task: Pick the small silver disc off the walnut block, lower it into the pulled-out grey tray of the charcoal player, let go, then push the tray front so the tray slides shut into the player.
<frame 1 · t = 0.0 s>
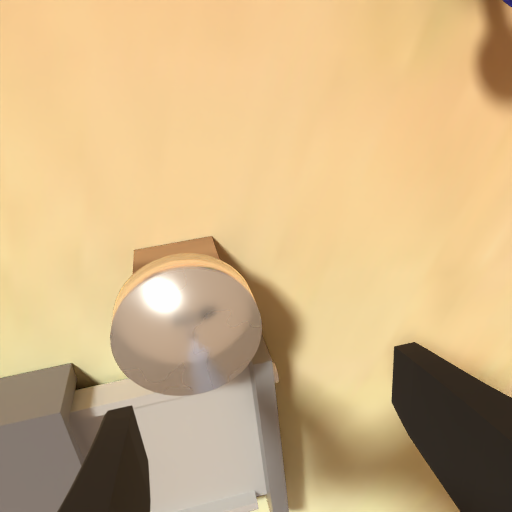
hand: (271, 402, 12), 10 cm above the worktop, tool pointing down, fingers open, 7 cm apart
disc: (185, 316, 18), point 3 cm above the worktop, touching walnut block
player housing: (6, 480, 24), on the worktop
tray: (181, 461, 24), point 2 cm above the worktop, slide at 8.0 cm
walnut block: (180, 276, 21), on the worktop
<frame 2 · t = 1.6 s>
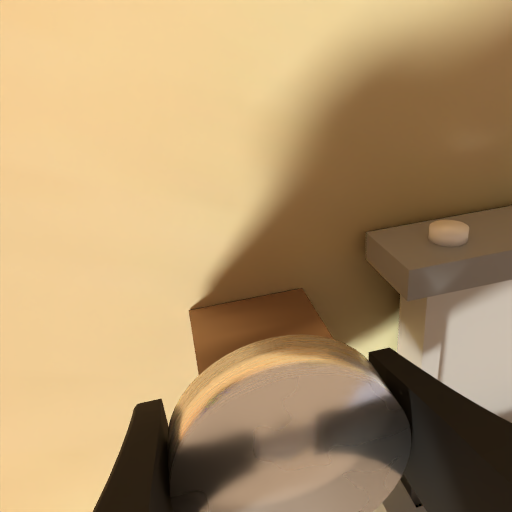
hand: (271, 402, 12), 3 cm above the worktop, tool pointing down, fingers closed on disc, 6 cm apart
disc: (280, 427, 12), point 3 cm above the worktop, touching gripper, walnut block
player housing: (488, 493, 21), on the worktop
walnut block: (252, 345, 15), on the worktop
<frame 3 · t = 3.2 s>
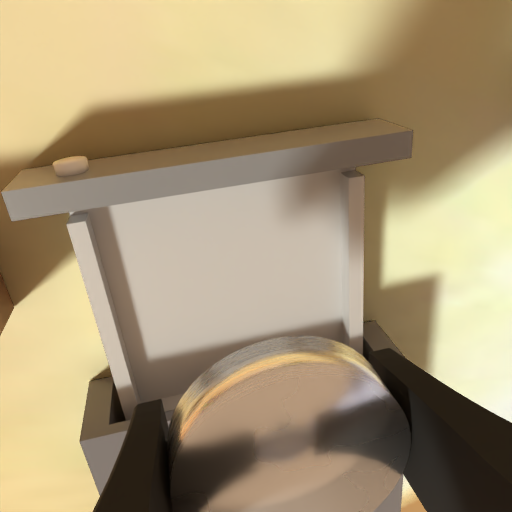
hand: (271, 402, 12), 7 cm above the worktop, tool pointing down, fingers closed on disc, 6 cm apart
disc: (280, 428, 12), point 8 cm above the worktop, touching gripper
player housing: (250, 431, 23), on the worktop
tray: (234, 287, 17), point 2 cm above the worktop, slide at 8.0 cm
when the fingers open (1 cm above the worktop, at t = 4.8 s): disc drops 1 cm, resting on tray.
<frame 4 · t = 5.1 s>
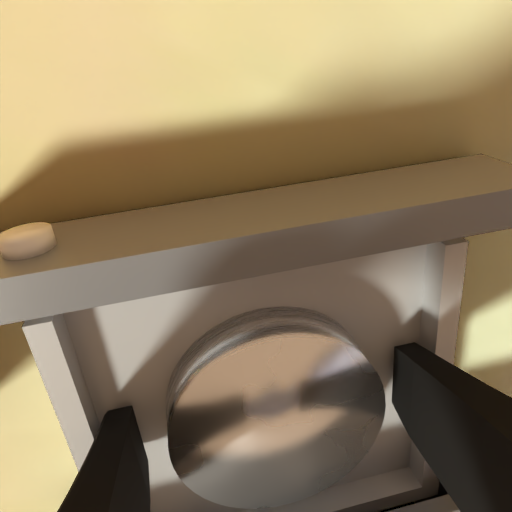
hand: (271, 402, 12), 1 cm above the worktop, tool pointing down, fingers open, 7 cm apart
disc: (268, 393, 13), point 1 cm above the worktop, touching tray
tray: (271, 396, 12), point 2 cm above the worktop, slide at 8.0 cm, touching disc
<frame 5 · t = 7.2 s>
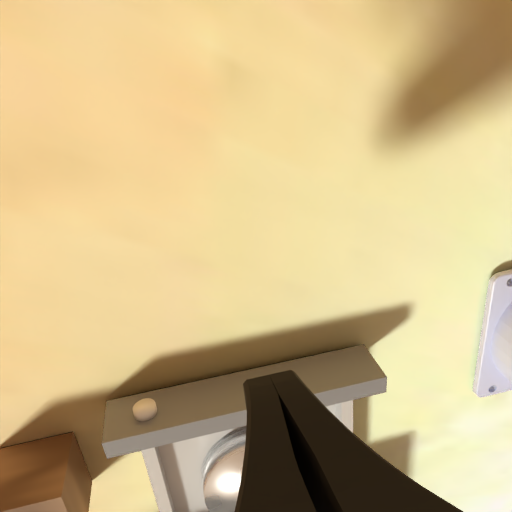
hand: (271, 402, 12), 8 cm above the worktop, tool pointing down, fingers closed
disc: (254, 463, 24), point 1 cm above the worktop, touching tray
tray: (256, 467, 23), point 2 cm above the worktop, slide at 8.0 cm, touching disc
walnut block: (46, 466, 22), on the worktop
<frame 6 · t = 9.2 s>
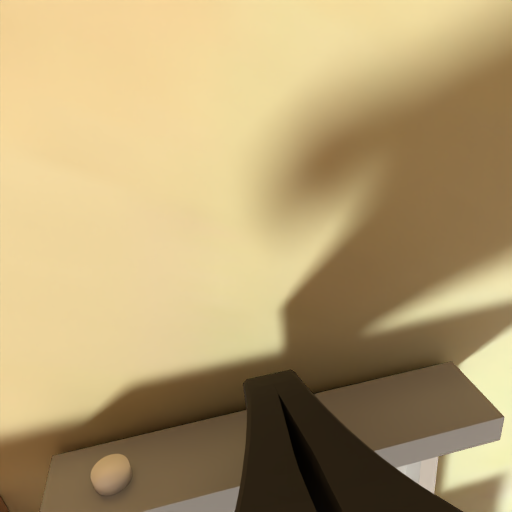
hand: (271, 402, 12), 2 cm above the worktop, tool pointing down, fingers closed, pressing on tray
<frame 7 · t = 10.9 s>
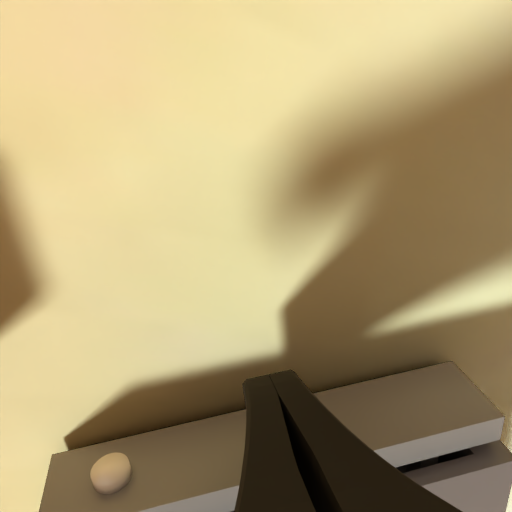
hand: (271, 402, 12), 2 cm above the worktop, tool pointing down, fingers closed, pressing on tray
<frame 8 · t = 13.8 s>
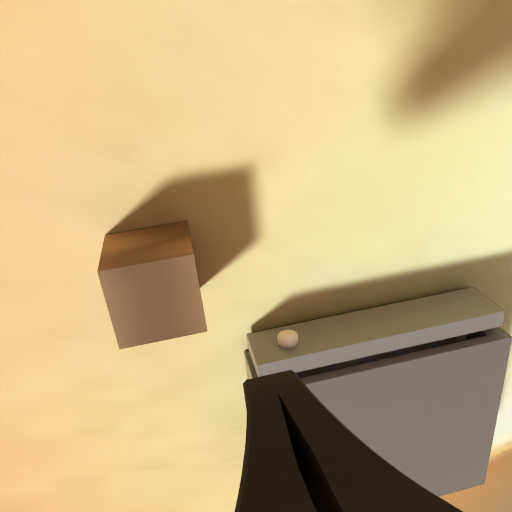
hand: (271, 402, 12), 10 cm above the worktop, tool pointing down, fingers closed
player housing: (361, 397, 27), on the worktop
tray: (373, 401, 25), point 2 cm above the worktop, slide at 0.0 cm, touching disc
walnut block: (154, 263, 21), on the worktop
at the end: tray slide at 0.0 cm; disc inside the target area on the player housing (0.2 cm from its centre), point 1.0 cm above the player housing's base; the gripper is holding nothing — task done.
